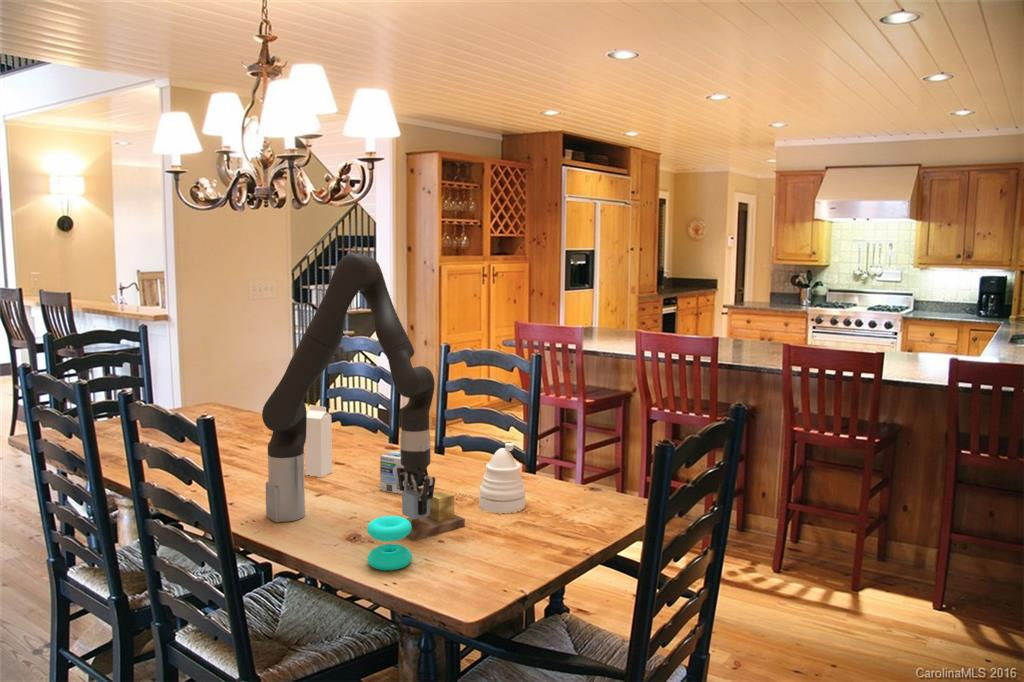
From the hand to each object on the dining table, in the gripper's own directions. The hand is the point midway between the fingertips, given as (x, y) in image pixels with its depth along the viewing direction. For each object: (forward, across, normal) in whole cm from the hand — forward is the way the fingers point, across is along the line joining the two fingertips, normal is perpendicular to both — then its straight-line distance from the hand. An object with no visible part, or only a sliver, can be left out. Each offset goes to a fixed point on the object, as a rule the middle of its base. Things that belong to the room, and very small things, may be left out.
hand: (416, 511), depth 198 cm
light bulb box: (+5, -31, +16) cm, 35 cm away
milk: (+5, -61, +5) cm, 61 cm away
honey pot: (+6, -1, +30) cm, 30 cm away
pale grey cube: (+1, 0, 0) cm, 1 cm away
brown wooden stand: (+5, 0, +4) cm, 7 cm away
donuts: (+6, +13, -16) cm, 21 cm away
